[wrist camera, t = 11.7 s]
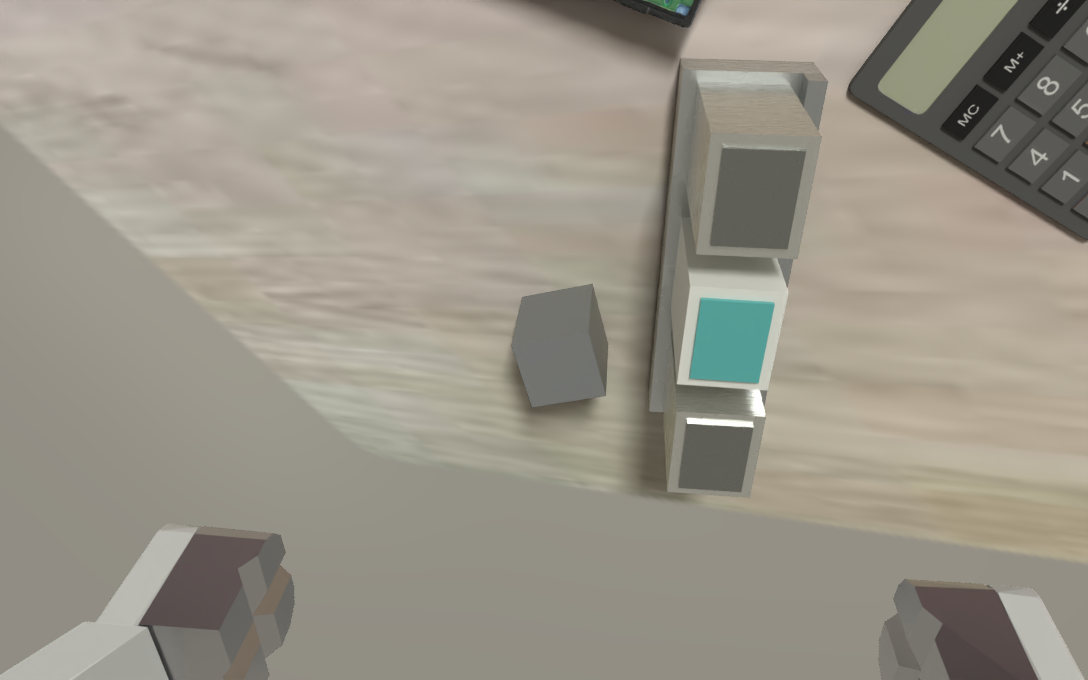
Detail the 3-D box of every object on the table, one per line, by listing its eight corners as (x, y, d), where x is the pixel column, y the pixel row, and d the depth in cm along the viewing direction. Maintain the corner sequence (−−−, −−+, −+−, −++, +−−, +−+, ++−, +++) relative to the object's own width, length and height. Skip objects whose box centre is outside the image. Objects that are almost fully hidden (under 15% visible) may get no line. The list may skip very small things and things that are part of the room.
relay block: (540, 355, 46) (532, 407, 42) (522, 296, 44) (511, 345, 40) (608, 343, 46) (605, 395, 41) (592, 283, 44) (588, 331, 39)
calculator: (1092, 244, 39) (847, 92, 36) (1083, 236, 40) (842, 86, 37) (1323, 26, 33) (1052, -177, 30) (1307, 21, 34) (1041, -177, 31)
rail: (648, 390, 47) (652, 501, 39) (680, 58, 37) (693, 120, 29) (752, 396, 47) (776, 509, 39) (813, 62, 36) (862, 126, 29)
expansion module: (670, 305, 41) (677, 386, 35) (681, 216, 39) (690, 288, 33) (748, 310, 41) (768, 392, 35) (764, 221, 38) (789, 294, 32)
